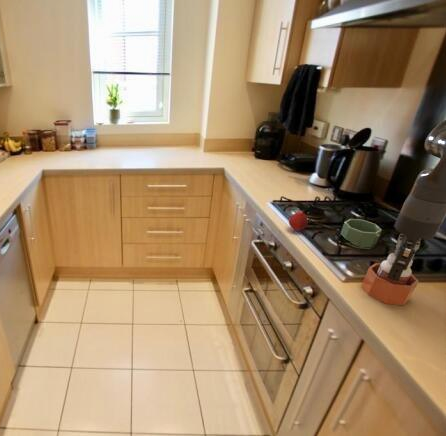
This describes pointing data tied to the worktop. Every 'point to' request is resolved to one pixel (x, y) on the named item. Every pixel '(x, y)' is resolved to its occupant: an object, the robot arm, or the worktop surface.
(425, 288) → the worktop surface
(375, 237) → the green pot
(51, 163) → the worktop surface
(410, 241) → the robot arm
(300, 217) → the onion
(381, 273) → the pill bottle
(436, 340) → the worktop surface
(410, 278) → the terracotta pot
